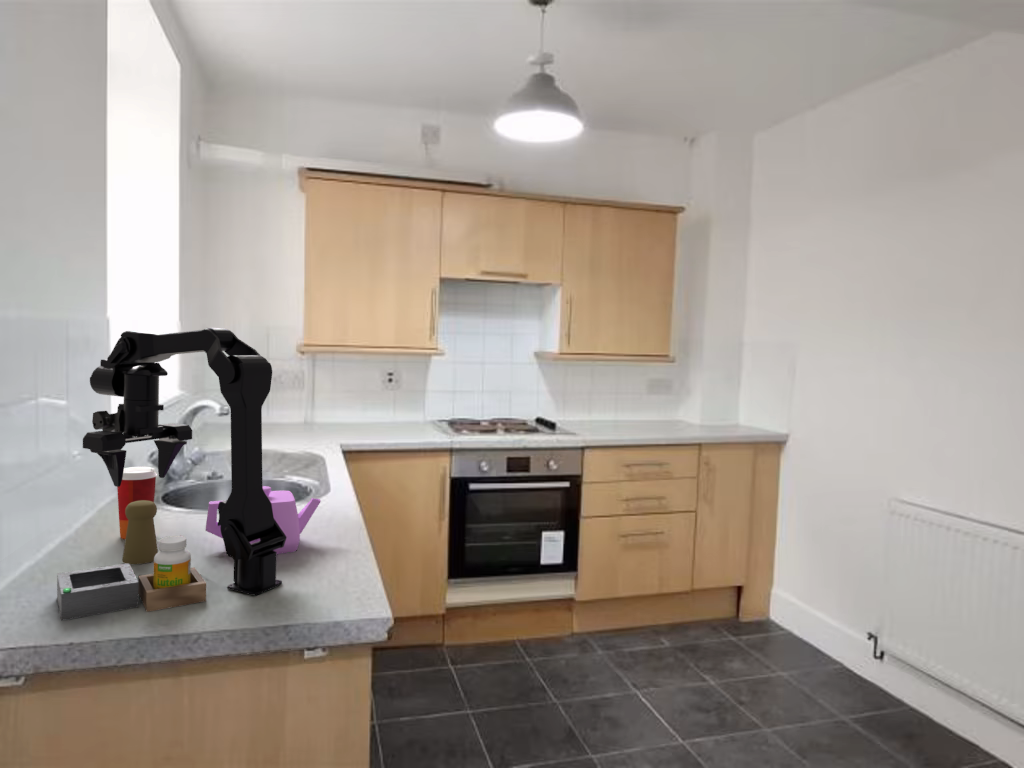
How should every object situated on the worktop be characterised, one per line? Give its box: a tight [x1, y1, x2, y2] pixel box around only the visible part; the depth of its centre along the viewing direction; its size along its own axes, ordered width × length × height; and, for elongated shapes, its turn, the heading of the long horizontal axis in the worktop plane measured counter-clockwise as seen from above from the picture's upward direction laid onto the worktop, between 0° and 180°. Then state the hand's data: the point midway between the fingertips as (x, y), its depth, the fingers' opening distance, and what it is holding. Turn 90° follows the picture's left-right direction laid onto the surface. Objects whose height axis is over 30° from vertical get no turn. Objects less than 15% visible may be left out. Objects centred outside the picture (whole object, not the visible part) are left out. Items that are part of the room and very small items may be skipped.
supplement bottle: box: [153, 535, 192, 590], centre depth 108 cm, size 5×5×10 cm
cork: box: [121, 500, 159, 565], centre depth 125 cm, size 6×6×11 cm
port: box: [56, 563, 139, 621], centre depth 105 cm, size 10×10×4 cm
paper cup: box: [116, 466, 158, 540], centre depth 139 cm, size 8×8×14 cm
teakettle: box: [205, 485, 322, 555], centre depth 136 cm, size 17×17×12 cm
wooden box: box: [137, 567, 207, 613], centre depth 109 cm, size 8×8×3 cm
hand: (140, 481), depth 125 cm, fingers open, 9 cm apart
